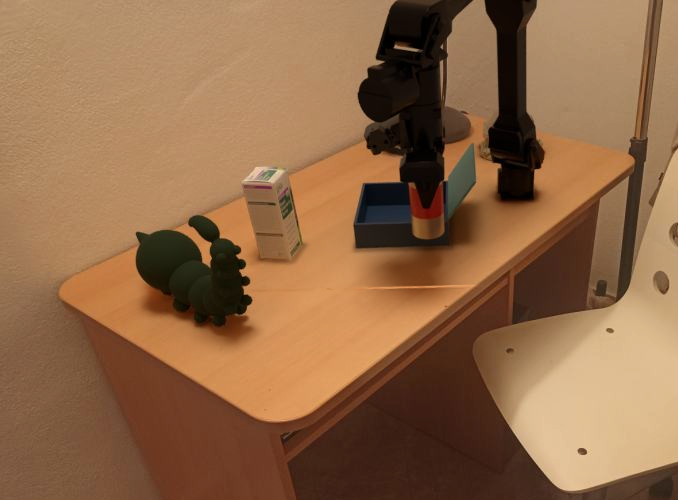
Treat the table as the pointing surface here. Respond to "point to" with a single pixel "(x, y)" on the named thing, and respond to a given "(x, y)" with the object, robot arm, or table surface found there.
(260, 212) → the syrup box
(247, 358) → the table surface
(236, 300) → the toy figurine
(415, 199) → the can
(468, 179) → the lid
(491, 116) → the ceramic model
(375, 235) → the dark blue open box
